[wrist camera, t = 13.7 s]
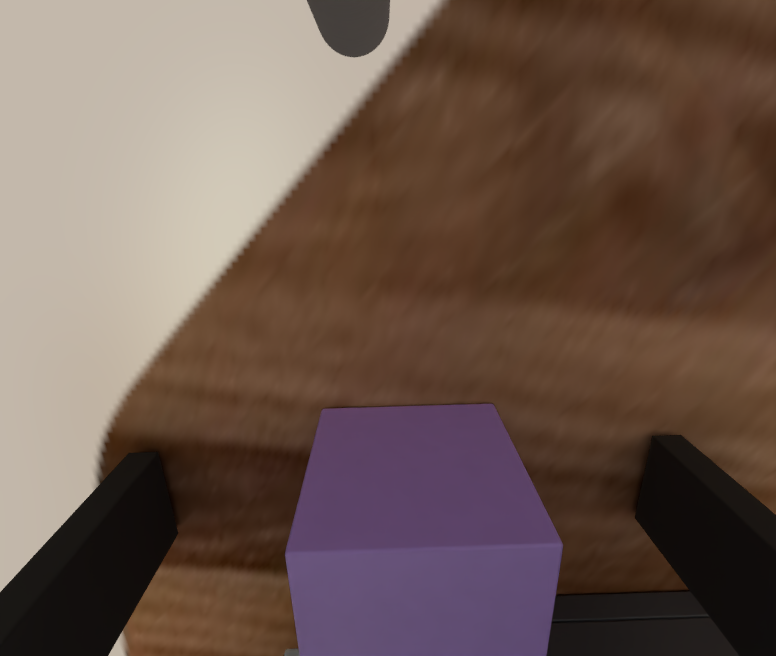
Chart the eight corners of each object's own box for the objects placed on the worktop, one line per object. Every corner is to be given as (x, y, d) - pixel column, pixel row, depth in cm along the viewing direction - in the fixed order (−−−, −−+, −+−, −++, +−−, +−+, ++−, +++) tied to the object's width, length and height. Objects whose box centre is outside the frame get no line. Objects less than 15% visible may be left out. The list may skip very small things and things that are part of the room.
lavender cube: (321, 407, 11) (283, 554, 6) (493, 402, 11) (565, 544, 7) (333, 540, 12) (308, 728, 8) (484, 535, 12) (538, 719, 8)
